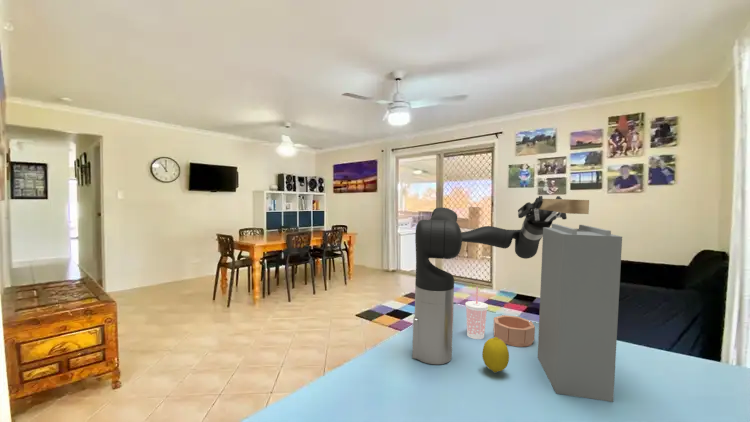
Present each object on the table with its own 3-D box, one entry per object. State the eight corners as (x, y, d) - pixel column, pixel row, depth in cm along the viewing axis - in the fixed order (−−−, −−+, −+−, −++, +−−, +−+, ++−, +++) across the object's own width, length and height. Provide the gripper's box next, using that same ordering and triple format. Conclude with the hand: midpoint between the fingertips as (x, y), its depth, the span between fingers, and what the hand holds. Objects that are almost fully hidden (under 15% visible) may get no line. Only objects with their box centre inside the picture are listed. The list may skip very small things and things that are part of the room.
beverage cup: (480, 330, 95) (482, 283, 95) (491, 340, 89) (492, 289, 89) (460, 331, 94) (462, 283, 94) (469, 340, 88) (471, 289, 88)
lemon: (510, 380, 69) (512, 344, 69) (483, 377, 71) (484, 341, 70) (505, 367, 75) (507, 333, 74) (480, 364, 76) (481, 331, 76)
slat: (567, 213, 71) (568, 199, 71) (537, 208, 96) (538, 198, 96) (588, 214, 70) (589, 200, 70) (552, 209, 95) (553, 198, 95)
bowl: (496, 344, 87) (496, 327, 87) (491, 329, 96) (492, 314, 96) (537, 349, 84) (537, 331, 84) (528, 333, 94) (529, 317, 94)
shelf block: (556, 393, 65) (563, 229, 64) (537, 357, 80) (543, 223, 78) (613, 401, 63) (622, 231, 61) (583, 363, 77) (590, 224, 76)
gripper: (511, 213, 109) (522, 186, 94) (558, 215, 106) (577, 187, 91) (512, 234, 106) (523, 209, 91) (561, 236, 102) (580, 211, 87)
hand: (550, 199), depth 91 cm, fingers closed on slat, 4 cm apart
